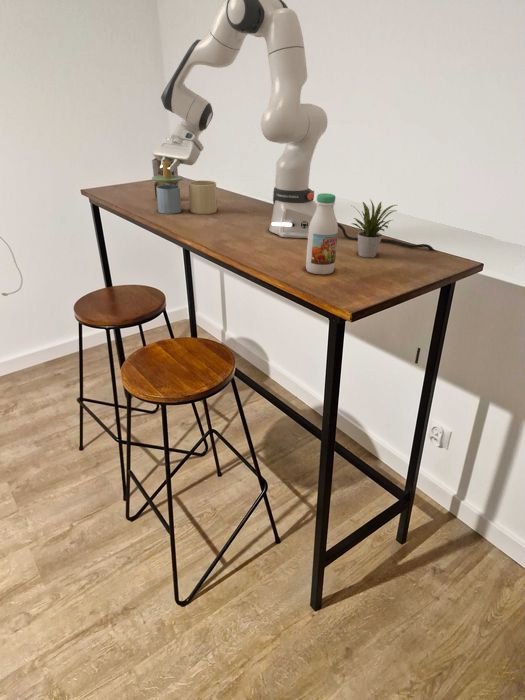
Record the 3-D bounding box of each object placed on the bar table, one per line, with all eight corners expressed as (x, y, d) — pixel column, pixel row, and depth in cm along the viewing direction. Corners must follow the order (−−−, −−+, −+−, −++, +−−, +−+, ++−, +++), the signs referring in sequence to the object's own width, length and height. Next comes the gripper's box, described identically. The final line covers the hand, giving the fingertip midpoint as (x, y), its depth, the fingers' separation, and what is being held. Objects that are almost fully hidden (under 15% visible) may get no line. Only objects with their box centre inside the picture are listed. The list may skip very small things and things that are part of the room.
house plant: (404, 256, 142) (414, 200, 134) (378, 266, 133) (387, 207, 125) (365, 245, 151) (372, 192, 143) (338, 254, 142) (344, 198, 134)
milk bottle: (300, 271, 128) (305, 195, 118) (314, 263, 134) (319, 190, 124) (325, 277, 125) (333, 199, 115) (338, 269, 130) (346, 194, 120)
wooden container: (220, 209, 189) (219, 181, 184) (211, 214, 181) (210, 186, 176) (195, 206, 192) (194, 179, 186) (186, 212, 183) (184, 184, 178)
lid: (187, 179, 183) (186, 160, 179) (175, 184, 173) (174, 165, 170) (160, 177, 185) (158, 159, 182) (146, 182, 175) (145, 163, 172)
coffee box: (179, 197, 206) (177, 158, 198) (176, 201, 200) (173, 160, 192) (159, 196, 207) (156, 157, 199) (154, 200, 201) (151, 159, 193)
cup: (184, 209, 187) (183, 185, 183) (175, 214, 180) (174, 190, 175) (164, 207, 189) (162, 184, 185) (154, 212, 181) (152, 188, 177)
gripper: (160, 131, 181) (142, 161, 179) (198, 136, 171) (179, 167, 169) (169, 143, 187) (152, 172, 185) (207, 148, 176) (189, 179, 174)
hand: (165, 170), depth 177 cm, fingers closed on lid, 3 cm apart
